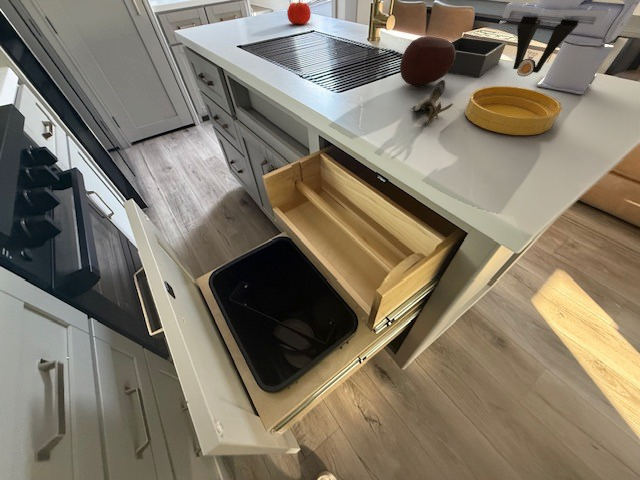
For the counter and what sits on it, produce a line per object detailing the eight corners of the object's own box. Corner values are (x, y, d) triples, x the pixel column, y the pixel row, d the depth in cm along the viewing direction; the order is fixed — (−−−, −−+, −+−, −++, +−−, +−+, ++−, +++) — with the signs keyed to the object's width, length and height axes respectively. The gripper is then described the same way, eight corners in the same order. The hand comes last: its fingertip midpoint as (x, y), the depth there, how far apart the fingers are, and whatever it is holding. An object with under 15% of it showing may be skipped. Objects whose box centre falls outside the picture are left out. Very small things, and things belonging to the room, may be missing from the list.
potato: (455, 89, 67) (471, 39, 59) (406, 96, 65) (416, 44, 58) (434, 75, 74) (445, 28, 66) (389, 80, 73) (395, 33, 65)
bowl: (559, 115, 56) (570, 97, 53) (537, 146, 48) (549, 127, 46) (481, 97, 63) (487, 80, 61) (451, 121, 56) (457, 104, 53)
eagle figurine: (458, 120, 53) (450, 94, 58) (448, 90, 49) (441, 65, 53) (419, 137, 57) (415, 112, 62) (407, 112, 53) (403, 86, 57)
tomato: (286, 22, 130) (284, 2, 125) (308, 20, 132) (307, 0, 126) (290, 27, 123) (288, 5, 118) (313, 24, 125) (312, 3, 119)
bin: (498, 63, 79) (506, 42, 75) (478, 77, 72) (486, 56, 68) (454, 56, 85) (460, 36, 81) (432, 68, 78) (437, 48, 74)
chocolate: (535, 76, 51) (547, 51, 48) (528, 78, 50) (540, 53, 48) (520, 72, 53) (531, 48, 50) (513, 74, 52) (524, 50, 49)
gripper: (514, -30, 42) (479, 68, 53) (631, -29, 36) (565, 83, 46) (527, -34, 46) (492, 59, 56) (637, -34, 39) (574, 72, 49)
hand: (526, 69), depth 51 cm, fingers closed on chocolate, 3 cm apart
